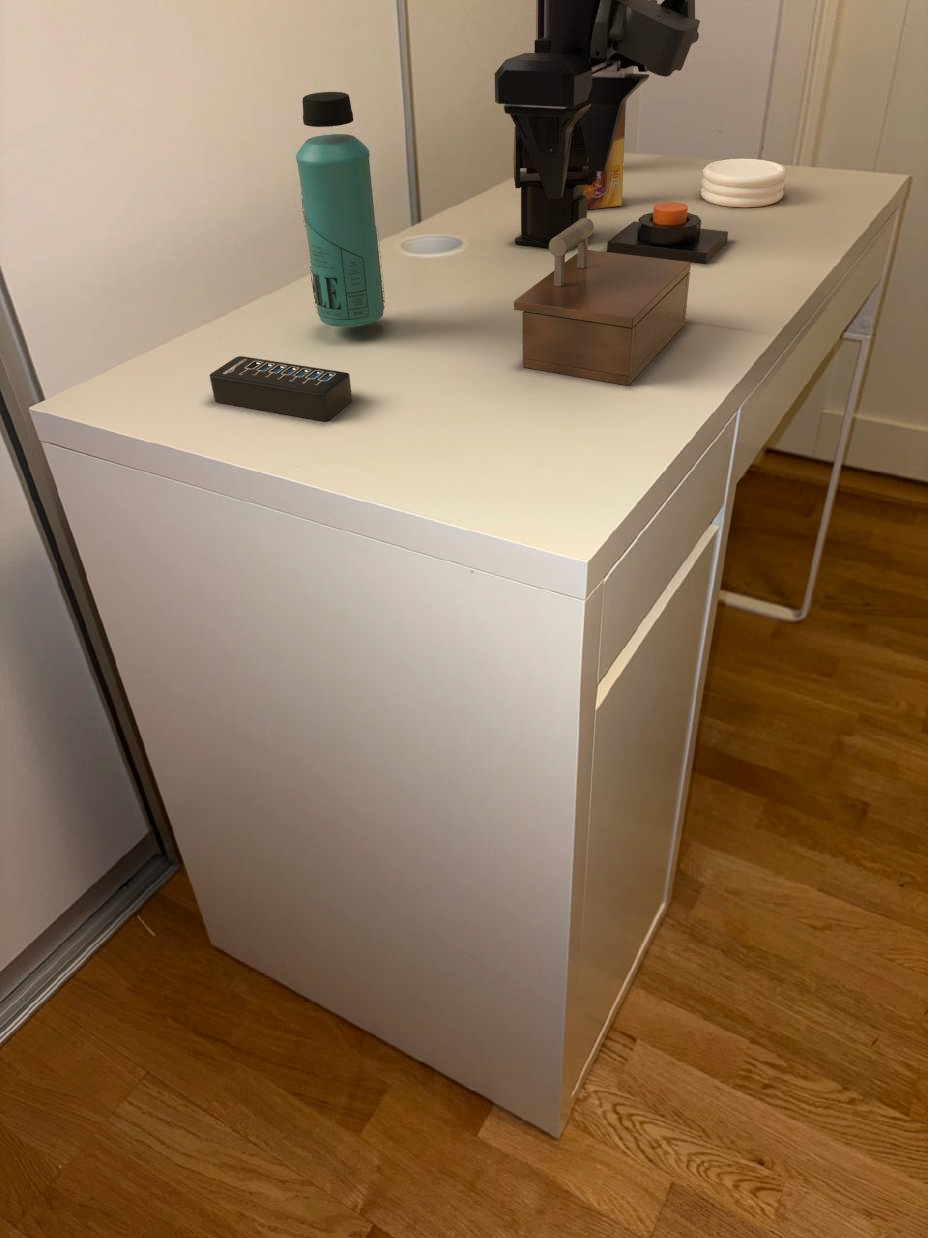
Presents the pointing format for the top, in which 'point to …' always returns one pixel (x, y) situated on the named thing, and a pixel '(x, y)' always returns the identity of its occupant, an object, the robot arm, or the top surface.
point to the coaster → (743, 182)
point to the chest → (603, 341)
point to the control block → (669, 240)
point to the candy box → (609, 175)
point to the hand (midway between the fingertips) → (577, 183)
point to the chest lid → (600, 282)
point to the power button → (670, 213)
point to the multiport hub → (282, 388)
